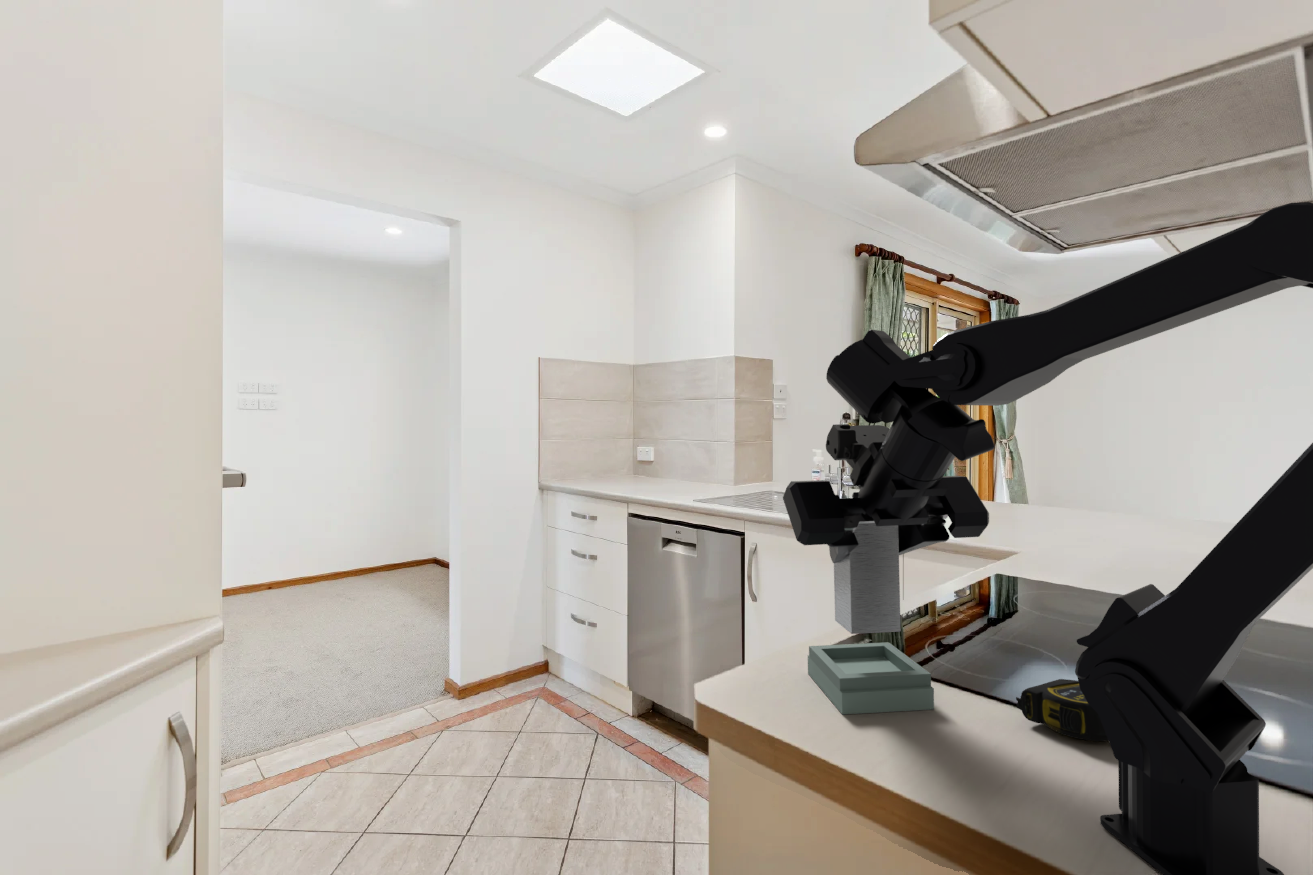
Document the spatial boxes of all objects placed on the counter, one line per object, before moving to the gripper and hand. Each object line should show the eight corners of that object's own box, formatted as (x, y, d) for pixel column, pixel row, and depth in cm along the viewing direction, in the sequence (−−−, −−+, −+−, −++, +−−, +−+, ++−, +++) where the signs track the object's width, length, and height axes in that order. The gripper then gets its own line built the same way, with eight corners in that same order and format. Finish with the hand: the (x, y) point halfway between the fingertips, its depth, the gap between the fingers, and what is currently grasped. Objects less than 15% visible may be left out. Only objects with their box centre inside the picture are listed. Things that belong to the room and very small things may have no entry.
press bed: (933, 709, 60) (933, 675, 60) (842, 714, 59) (841, 680, 59) (887, 669, 70) (886, 640, 70) (807, 673, 69) (807, 644, 69)
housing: (900, 631, 62) (897, 494, 62) (851, 633, 62) (848, 496, 62) (880, 618, 67) (878, 490, 67) (835, 620, 66) (832, 491, 66)
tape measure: (1065, 708, 60) (1064, 669, 60) (1145, 740, 54) (1144, 697, 54) (1016, 723, 57) (1015, 682, 57) (1094, 758, 51) (1093, 712, 51)
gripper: (968, 394, 62) (909, 495, 73) (787, 397, 59) (754, 501, 70) (1028, 480, 55) (951, 578, 66) (823, 487, 52) (780, 588, 63)
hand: (857, 557), depth 66 cm, fingers closed on housing, 5 cm apart
